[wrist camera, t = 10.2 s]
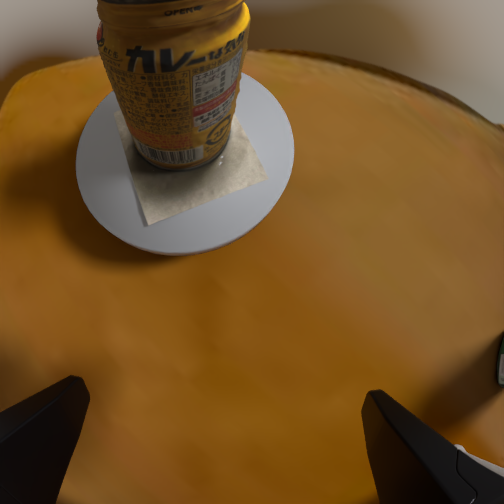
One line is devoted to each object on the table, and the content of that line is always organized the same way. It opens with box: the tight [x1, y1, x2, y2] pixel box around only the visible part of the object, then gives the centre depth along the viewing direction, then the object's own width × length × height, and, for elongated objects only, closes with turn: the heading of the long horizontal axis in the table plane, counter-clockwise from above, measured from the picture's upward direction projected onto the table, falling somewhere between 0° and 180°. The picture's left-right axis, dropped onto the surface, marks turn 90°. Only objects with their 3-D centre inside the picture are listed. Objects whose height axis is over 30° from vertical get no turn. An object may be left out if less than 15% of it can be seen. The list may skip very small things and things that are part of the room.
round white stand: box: [76, 72, 294, 256], centre depth 19 cm, size 14×14×4 cm
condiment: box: [97, 0, 269, 225], centre depth 11 cm, size 7×8×12 cm
